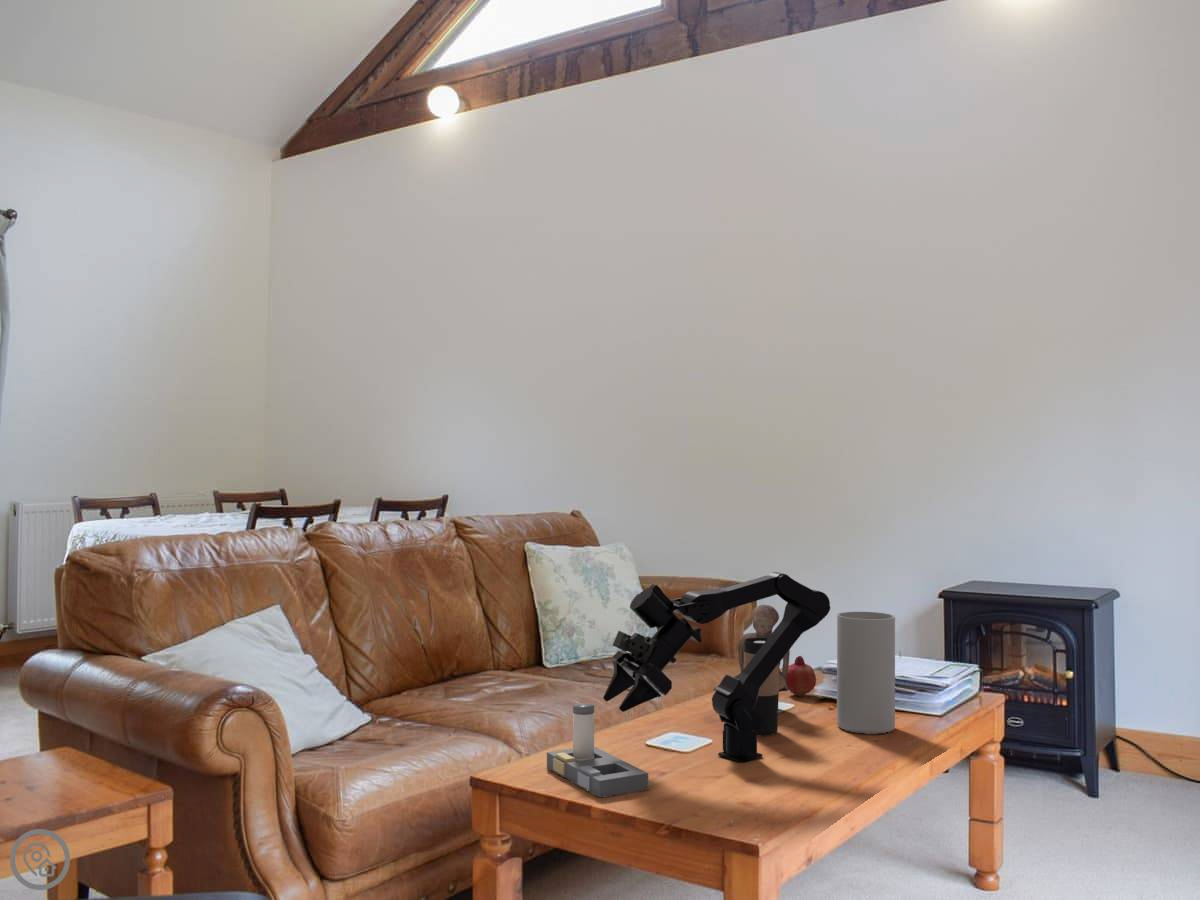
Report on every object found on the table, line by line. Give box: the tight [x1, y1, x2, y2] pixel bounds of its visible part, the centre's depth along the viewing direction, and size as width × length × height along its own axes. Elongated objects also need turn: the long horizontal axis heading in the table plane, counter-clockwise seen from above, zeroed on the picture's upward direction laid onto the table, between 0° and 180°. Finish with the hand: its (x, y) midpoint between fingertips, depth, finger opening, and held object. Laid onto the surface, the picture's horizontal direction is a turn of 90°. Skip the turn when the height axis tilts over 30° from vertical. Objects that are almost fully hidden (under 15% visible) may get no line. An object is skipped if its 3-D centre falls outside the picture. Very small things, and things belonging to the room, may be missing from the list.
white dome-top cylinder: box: [572, 702, 595, 761], centre depth 203 cm, size 4×4×12 cm
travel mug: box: [744, 638, 780, 736], centre depth 234 cm, size 8×8×20 cm
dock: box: [546, 746, 649, 798], centre depth 199 cm, size 21×10×4 cm, turn 29°
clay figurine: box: [737, 604, 791, 693], centre depth 255 cm, size 13×10×25 cm
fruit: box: [784, 655, 817, 696], centre depth 270 cm, size 8×8×10 cm
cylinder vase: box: [836, 611, 896, 735], centre depth 238 cm, size 12×12×25 cm
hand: (612, 704), depth 205 cm, fingers open, 9 cm apart
